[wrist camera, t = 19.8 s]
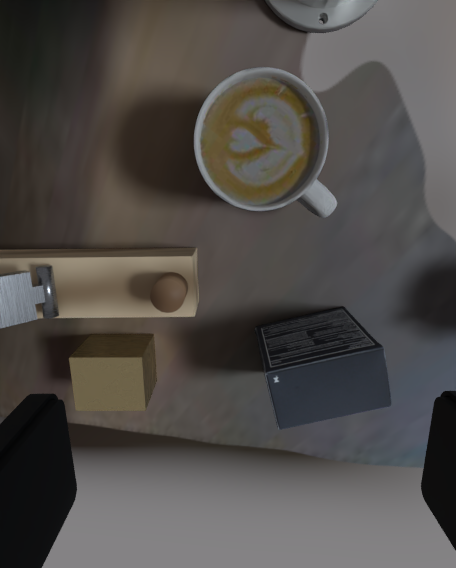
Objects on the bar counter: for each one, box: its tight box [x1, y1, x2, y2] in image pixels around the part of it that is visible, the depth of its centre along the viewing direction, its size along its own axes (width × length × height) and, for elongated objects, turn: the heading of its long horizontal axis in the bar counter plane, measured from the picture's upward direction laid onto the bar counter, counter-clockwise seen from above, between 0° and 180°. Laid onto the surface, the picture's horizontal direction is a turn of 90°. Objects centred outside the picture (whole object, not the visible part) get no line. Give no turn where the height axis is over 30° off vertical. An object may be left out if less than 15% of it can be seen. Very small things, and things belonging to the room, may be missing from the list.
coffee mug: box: [194, 67, 337, 218], centre depth 31 cm, size 13×10×10 cm
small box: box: [254, 307, 391, 430], centre depth 36 cm, size 11×6×10 cm, turn 104°
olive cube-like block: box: [69, 334, 157, 411], centre depth 39 cm, size 7×6×6 cm
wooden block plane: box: [0, 248, 199, 318], centre depth 35 cm, size 6×22×8 cm, turn 91°
